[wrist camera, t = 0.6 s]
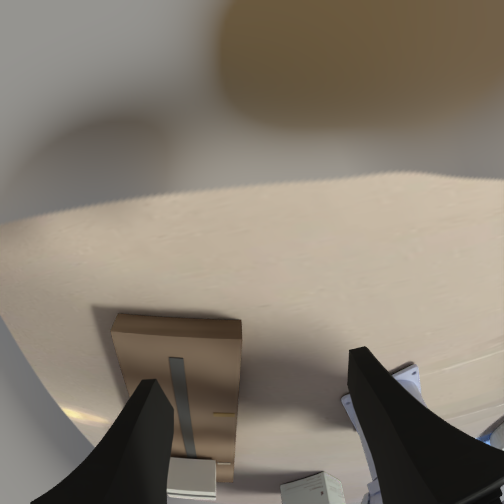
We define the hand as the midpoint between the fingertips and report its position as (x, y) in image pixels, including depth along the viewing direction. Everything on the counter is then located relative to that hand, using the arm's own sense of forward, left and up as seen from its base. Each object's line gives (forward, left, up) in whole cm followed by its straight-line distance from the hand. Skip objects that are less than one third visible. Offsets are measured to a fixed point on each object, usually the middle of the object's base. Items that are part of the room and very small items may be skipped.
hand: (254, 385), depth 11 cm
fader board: (-13, +13, -10) cm, 21 cm away
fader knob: (-19, +16, -8) cm, 26 cm away
